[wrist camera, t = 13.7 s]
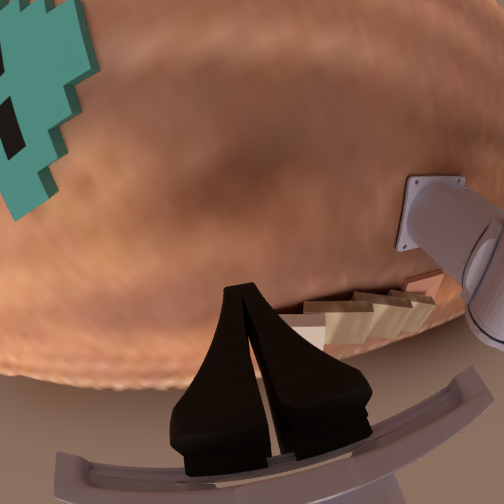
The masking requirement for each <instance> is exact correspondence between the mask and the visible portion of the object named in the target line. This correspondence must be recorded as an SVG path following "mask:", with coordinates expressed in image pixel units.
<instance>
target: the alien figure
mask: <svg viewBox="0 0 504 504" xmlns="http://www.w3.org/2000/svg"><path fill="white" fill-rule="evenodd" d="M99 71H100V69H99V65H98V62H97V59H96V55H95V52H94V48H93V45H92V41H91V37H90V33H89V30H88V26H87V22H86V17H85V13H84V9H83V4H82V2H80V1H79V0H67V1H65V2H64V3H62V4H60V5H59V6H57V7H56V8H55V6H54V0H36V1H34V2H33V3H32V4H29V0H12V1H11V2H10V3H8V0H0V192H1V194H2V196H3V199H4V201H5V203H6V205H7V207H8V209H9V211H10V213H11V215H12V217H13V219H14V221H15V222H16V221H17V220H18V219H20V218H21V217H23V216H24V215H25V214H27V213H28V212H30V211H31V210H33V209H34V208H36V207H37V206H39V205H40V204H42V203H43V202H45V201H46V200H48V199H49V198H51V197H52V196H53V195H54V194H55V193H57V192H58V191H59V190H58V188H57V186H56V184H55V182H54V180H53V177H52V175H51V173H50V170H49V168H48V165H50V164H51V163H53V162H54V161H56V160H58V159H59V158H61V157H62V156H64V155H65V154H67V153H68V151H67V148H66V145H65V143H64V140H63V138H62V135H61V132H60V130H59V126H60V125H62V124H64V123H65V122H67V121H68V120H70V119H71V118H73V117H75V116H76V115H78V114H80V113H81V112H82V110H81V107H80V104H79V101H78V98H77V95H76V92H75V89H74V85H76V84H78V83H79V82H81V81H83V80H84V79H86V78H88V77H90V76H91V75H93V74H95V73H97V72H99Z"/></svg>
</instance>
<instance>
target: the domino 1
mask: <svg viewBox="0 0 504 504" xmlns="http://www.w3.org/2000/svg"><path fill="white" fill-rule="evenodd" d="M303 314H325V320H326V330H325V338H324V344H365V341H366V338H367V335H368V332H369V328H370V325H371V322H372V318H373V314H374V309H373V304H372V301H304V308H303Z"/></svg>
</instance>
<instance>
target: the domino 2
mask: <svg viewBox="0 0 504 504" xmlns="http://www.w3.org/2000/svg"><path fill="white" fill-rule="evenodd" d="M351 301H372V304H373V309H374V314H373V318H372V322H371V325H370V328H369V332H368V335H367V336H368V337H379V338H391V339H396V337H397V336H398V334H399V333H400V331H401V329H402V327H403V326H404V324H405V322H406V321H407V319H408V317H409V315H410V313H411V312H412V310H413V306H412V303H411V301H410V299H408V298H400V297H392V296H385V295H378V294H370V293H363V292H356V291H354V293H353V295H352V298H351Z"/></svg>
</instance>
